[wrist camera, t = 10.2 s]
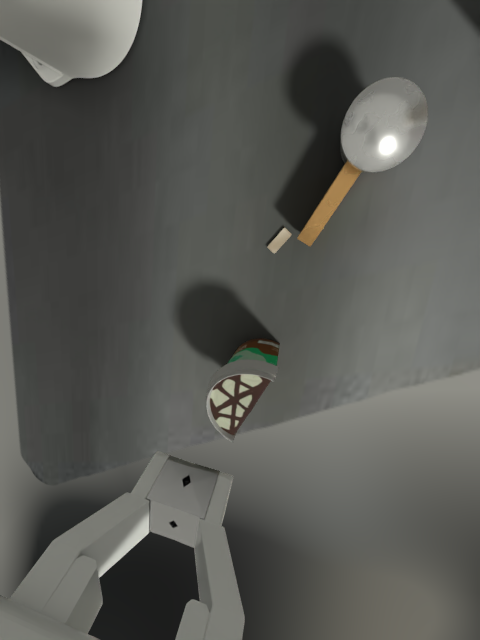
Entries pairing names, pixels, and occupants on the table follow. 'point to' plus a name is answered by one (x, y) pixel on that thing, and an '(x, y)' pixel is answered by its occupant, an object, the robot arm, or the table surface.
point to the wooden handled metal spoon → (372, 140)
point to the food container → (241, 384)
